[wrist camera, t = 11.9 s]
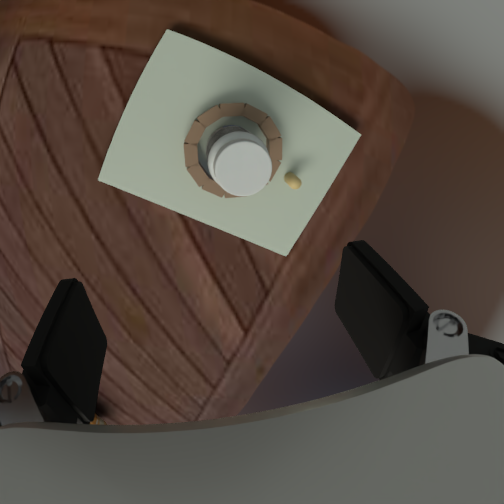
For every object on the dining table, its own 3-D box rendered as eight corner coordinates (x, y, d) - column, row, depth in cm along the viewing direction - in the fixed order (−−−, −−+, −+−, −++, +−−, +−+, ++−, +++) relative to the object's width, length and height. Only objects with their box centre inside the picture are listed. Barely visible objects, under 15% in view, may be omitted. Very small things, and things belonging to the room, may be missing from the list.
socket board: (101, 176, 26) (91, 186, 24) (168, 31, 21) (164, 24, 18) (283, 251, 35) (291, 265, 32) (355, 133, 29) (370, 137, 26)
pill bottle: (197, 161, 27) (196, 186, 19) (219, 116, 25) (227, 123, 18) (241, 180, 28) (257, 212, 21) (264, 138, 27) (290, 154, 19)
